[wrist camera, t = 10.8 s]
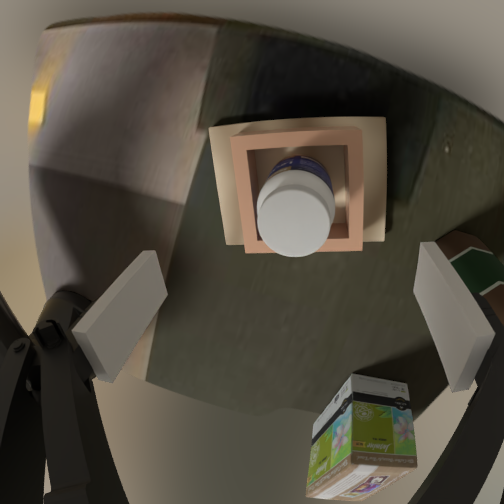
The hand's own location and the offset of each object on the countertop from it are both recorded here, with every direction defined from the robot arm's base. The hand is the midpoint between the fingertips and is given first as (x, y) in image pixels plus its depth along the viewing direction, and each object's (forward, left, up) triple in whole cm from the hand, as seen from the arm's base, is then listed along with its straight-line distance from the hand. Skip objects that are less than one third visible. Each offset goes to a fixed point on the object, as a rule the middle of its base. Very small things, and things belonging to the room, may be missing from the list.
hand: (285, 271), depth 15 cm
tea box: (+8, -35, -17) cm, 40 cm away
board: (0, 0, -17) cm, 17 cm away
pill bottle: (0, 0, -16) cm, 16 cm away
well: (0, 0, -15) cm, 15 cm away
